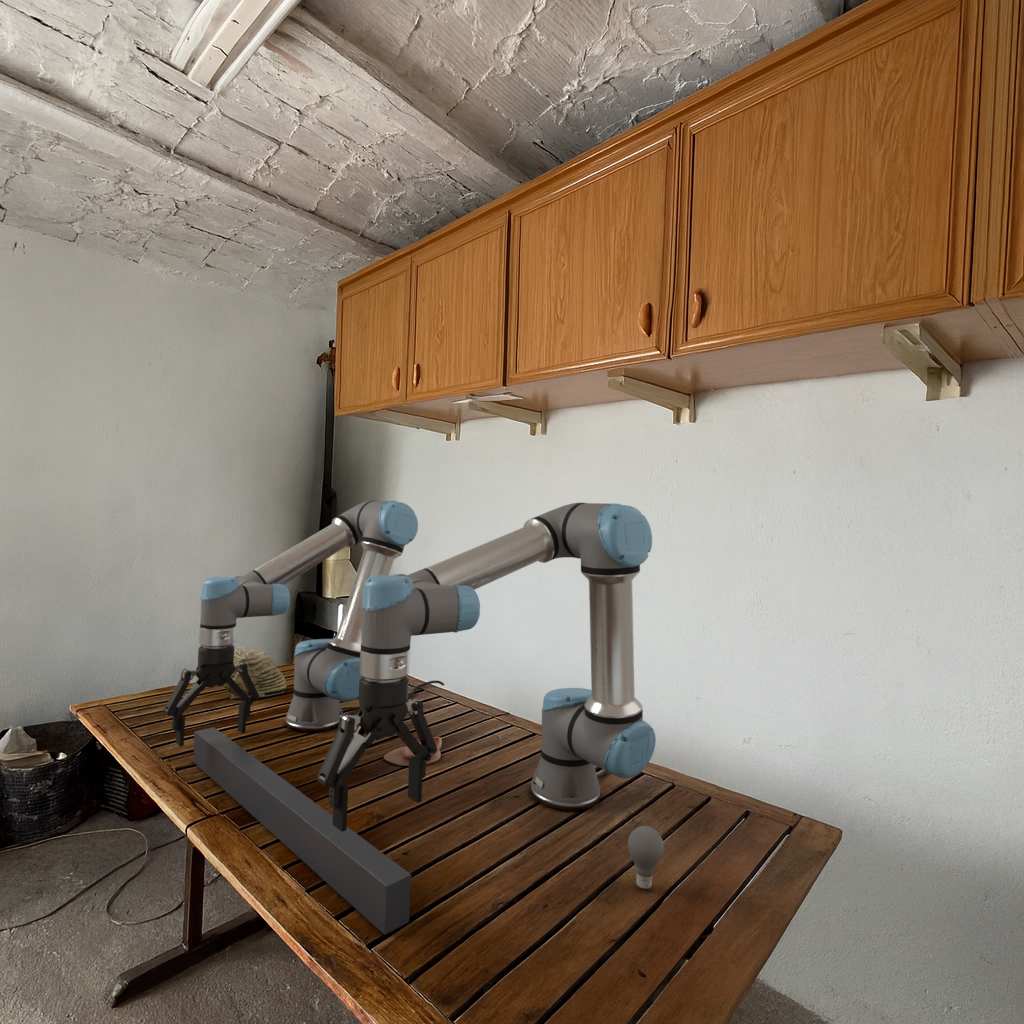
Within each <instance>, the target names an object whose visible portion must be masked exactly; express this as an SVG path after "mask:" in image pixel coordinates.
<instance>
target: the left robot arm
mask: <svg viewBox="0 0 1024 1024" xmlns="http://www.w3.org/2000/svg"><path fill="white" fill-rule="evenodd" d="M418 531H419V520H418V517H417V515H416V513H415V511H414V510H413V508H412V507H411V506H410V505H408V504H407V503H406V502H405V503H404V502H400V501H396V500H377V499H371V500H370V499H369V500H365V501H363V502H360V503H358V504H357V505H355V506H353V507H351V508H349V509H348V510H346V511H344V512H342V513H340V514H338V515H337V516H335V517H334V518H333V519H332V521H331V523H330V524H329V525H328V526H326V527H324V528H323V529H321V530H319V531H317V532H315V533H314V534H312V535H311V536H308V537H307V538H305V539H304V540H302V541H301V542H299V543H297V544H295V545H294V546H292V547H290V548H289V549H287V550H285V551H283V552H281V553H280V554H278V555H276V556H275V557H273V558H271V559H269V560H267V561H266V562H265V563H263V564H261V565H260V566H257V567H256V568H255V569H252V570H251V571H249V572H247V573H245V574H243V575H242V576H241V575H238V576H232V577H231V576H210V577H207V578H206V579H204V580H203V582H202V587H201V596H200V619H199V634H198V644H199V645H200V646H199V647H198V651H197V667H196V668H195V669H188V668H183V669H182V670H181V674H180V679H179V681H178V683H177V684H176V686H175V687H174V690H173V692H172V693H171V696H170V697H169V699H168V701H167V703H166V705H165V706H164V708H163V713H164V714H165V715H167V716H169V717H170V716H172V725H171V728H172V730H173V731H174V732H176V733H175V743H176V745H177V746H178V747H184V746H185V728H186V715H185V714H184V713H185V712H186V711H187V709H188V708H189V707H190V706H191V704H192V703H193V702H194V701H195V700H196V699H197V697H199V695H200V693H201V692H203V691H204V690H205V689H206V688H209V689H210V688H214V687H224V684H225V683H226V684H227V685H228V686H229V687H230V688H231V689H232V690H233V691H234V692H235V693H236V694H237V695H238V696H239V697H240V698H239V699H240V700H241V701H242V702H239V703H238V716H237V717H238V718H237V731H238V732H239V733H240V734H246V733H247V731H246V730H247V718H250V716H251V708H252V707H251V706H252V705H253V704H254V702H255V701H259V699H260V697H259V695H258V693H257V691H256V688H255V686H254V684H253V682H252V680H251V678H250V676H249V674H248V666H247V664H246V663H244V662H239V663H238V664H235V665H234V663H233V662H234V651H235V650H236V648H235V646H234V644H235V642H236V630H237V629H236V628H237V619H243V618H256V617H258V618H259V617H275V616H280V615H281V616H282V615H284V614H286V613H287V611H288V610H289V607H290V603H291V595H290V594H291V593H290V591H289V588H288V587H287V586H286V584H288V583H290V582H291V581H293V580H295V579H296V578H298V577H299V576H301V575H302V574H304V573H306V572H307V571H310V570H311V569H313V568H314V567H316V566H317V565H319V564H321V563H322V562H324V561H326V560H327V559H328V558H329V559H330V557H332V556H334V555H335V554H337V553H338V552H340V551H341V550H343V549H345V548H353V547H355V546H357V545H358V544H360V545H361V547H362V549H363V552H362V554H361V555H362V556H361V559H360V562H359V565H358V568H357V571H356V574H355V577H354V580H353V583H352V586H351V589H350V592H349V596H348V599H347V602H346V604H345V608H344V611H343V614H342V617H341V620H340V623H339V627H338V629H337V633H336V636H335V637H334V638H319V639H308V640H303V641H300V642H297V644H296V645H295V650H294V655H293V656H294V672H293V695H292V696H293V697H292V699H291V702H290V704H289V708H288V711H287V713H286V715H285V726H286V728H287V729H289V730H291V731H294V732H295V731H296V732H301V733H316V732H325V731H329V730H332V729H335V728H338V725H339V718H340V716H341V715H342V714H344V713H343V711H351V710H352V711H353V710H359V709H360V705H358V706H344V707H343V706H341V702H343V703H347V702H349V703H350V702H353V701H355V700H357V699H359V680H360V679H361V677H362V676H361V675H360V673H359V668H360V651H361V631H362V609H361V604H362V597H363V590H364V584H365V581H366V580H367V579H368V578H370V577H372V576H377V575H391V572H392V569H393V566H394V563H395V560H396V559H397V558H399V557H400V556H403V553H404V549H405V546H406V545H409V544H410V543H411V542H413V541H414V540H415V538H416V536H417V534H418ZM235 670H236V671H237V672H238V673H239V674H240V676H241V678H242V680H243V682H244V685H245V687H246V689H247V691H248V693H249V696H247V695H246V694H245V692H244V691H243V690H242V689H241V688H240V687H239V686H238V685H237V684H236V683H235V681H234V680H233V679H232V678H231V675H232V674H233V673H234V671H235ZM195 676H196V678H197V679H196V681H195V682H194V683H193V684H192V687H191V688H189V690H188V691H187V688H188V687H189V685H190V683H191V681H192V680H193V679H194V677H195ZM431 684H439V685H441V686H445V683H444V682H443V681H441V680H430V681H426V682H424V683H421V684H418V685H416V686H415V687H414V688H413V690H412V691H411V692H410V693H408V699H410V698H412V696H413V695H414V694H415V693H416V691H417V690H418V689H419V688H423V687H425V686H427V685H431ZM186 691H187V693H185V692H186ZM184 694H185V695H184Z"/></svg>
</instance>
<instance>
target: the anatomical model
mask: <svg viewBox="0 0 1024 1024" xmlns="http://www.w3.org/2000/svg"><path fill="white" fill-rule="evenodd" d="M433 739H434V741H435V744H436V746H437V751H436V752H435V753H431V754H430V755H431V759H430V761H428V762H427V761H426V765H429V764H432V763H435V762H437V761H438V760H440V759H441V755H442V753H441V751H440V750H441V748H442V744H443V741H442V740H443V739H442V737H441V736H433ZM418 742H419V743H420V744H421V742H420V740H419V741H418ZM421 746H422V745H421ZM409 757H415V755H414V754H413V753H412V752H411V750H410V749H409V748H408V747H407V746H406V745H405V746H401V747H398V748H395V749H393V750H391V751H389V752H387V753H385V755H384V756H383V760H385V761H386V762H388V763H390V764H394V765H396V766H401V767H409Z"/></svg>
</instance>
